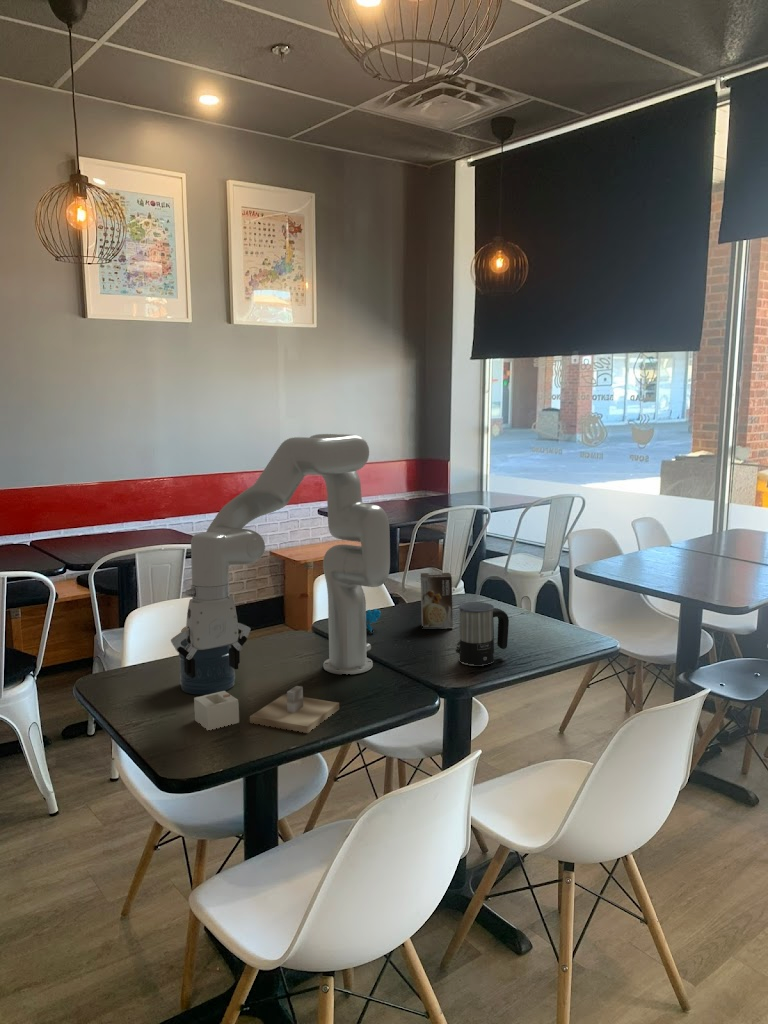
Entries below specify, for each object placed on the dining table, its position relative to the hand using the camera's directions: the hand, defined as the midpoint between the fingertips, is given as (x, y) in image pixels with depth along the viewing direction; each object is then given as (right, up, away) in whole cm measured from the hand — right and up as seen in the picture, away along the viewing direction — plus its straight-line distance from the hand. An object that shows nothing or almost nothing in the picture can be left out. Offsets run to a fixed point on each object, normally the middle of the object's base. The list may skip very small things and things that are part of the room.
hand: (212, 671), depth 167 cm
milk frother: (+60, -5, +43) cm, 74 cm away
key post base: (+17, -10, +4) cm, 20 cm away
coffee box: (+52, -1, +71) cm, 88 cm away
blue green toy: (+30, -2, +67) cm, 73 cm away
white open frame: (+1, -11, +2) cm, 11 cm away
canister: (-6, -8, +24) cm, 26 cm away
